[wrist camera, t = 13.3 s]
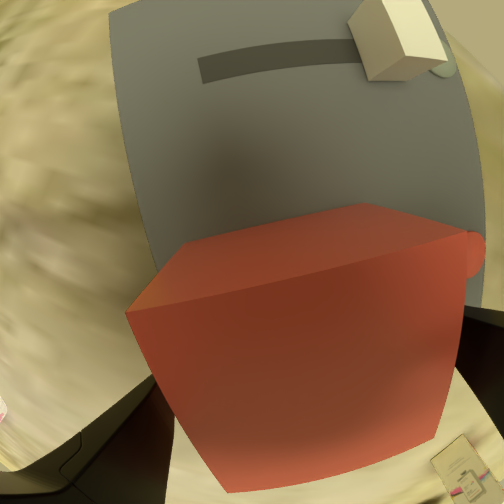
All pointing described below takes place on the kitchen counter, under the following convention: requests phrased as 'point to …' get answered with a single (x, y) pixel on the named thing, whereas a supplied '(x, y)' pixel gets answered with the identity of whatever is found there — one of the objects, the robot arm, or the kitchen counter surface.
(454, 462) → the ink cartridge box
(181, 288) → the cap
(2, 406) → the beverage cup
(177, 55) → the breaker panel
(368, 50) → the block
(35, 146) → the kitchen counter surface
